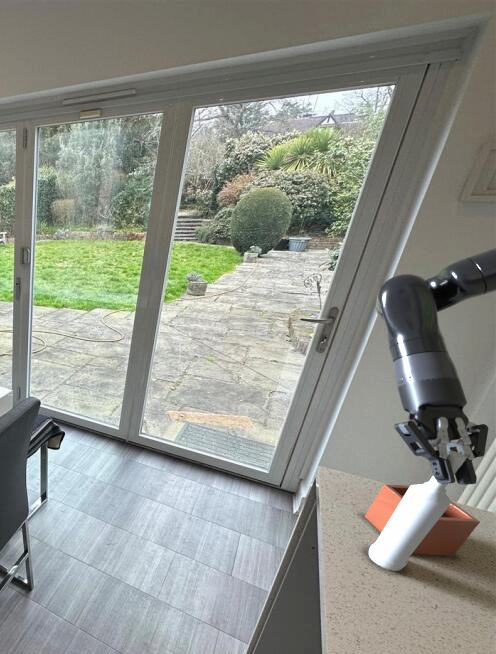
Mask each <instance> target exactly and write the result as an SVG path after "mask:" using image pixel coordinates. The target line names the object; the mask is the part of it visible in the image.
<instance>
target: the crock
mask: <svg viewBox="0 0 496 654" xmlns="http://www.w3.org/2000/svg"><path fill="white" fill-rule="evenodd" d="M410 486H411V485H405V484H403V485H402V484H386V483H385V484H383V486H382V487H381V489H380V490H379V492H378V493H377V495H376V497H375V498H374V500H373V502H372V503H371V505H370V507H368V508H369V509H368V510H367V512H366V513H365V515H364V518H365V519H366V520H367V521H368V522H370V523H371V525H372V526H374V528H376V529H377V530H378V531H379V532H380V534H381V533H382V531H383V530H384V528H385V526H386V525H387V523H388V521H389V520H390V518H391V517H392V515H393V513H394V512H395V510H396V508H397V507H398V505H399V504H400V502H401V500H402V499H403V497H404V495H405V494H406V492H407V490H408V489H409V487H410ZM480 523H481V521H480V520H479V519H477V518H476V517H475V516H472V515H471V514H470V513H469V512H467V511H466V510H464V508H462V507H461V506H460V505H457V504H456V503H455V502H453V501H452V500H451V504H450V505H449V507H448V508H447V509H446V511H445V512H444V513H443V514H442V516H441V517H440V518H439V520H438V521H437V522H436V523H435V525H434V526H433V527H432V528H431V530H430V531H429V532H428V534H427V535H426V536H425V537H424V539H423V540H422V541H421V543H420V544H419V545H418V546H417V548H416V549H415V550H414V551H413V553H412V554H411V555H413V554H414V555H432V556H449V557H450V556H452V557H453V556H455V554H456V553H457V552H458V551H459V549H460V548H461V547H462V546H463V544H465V542H466V541H467V539H468V538H469V537H470V536H471V534H472V533H473V532H474V531H475V529H476V528H477V527H478V525H479V524H480Z"/></svg>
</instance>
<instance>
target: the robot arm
mask: <svg viewBox="0 0 496 654" xmlns="http://www.w3.org/2000/svg"><path fill="white" fill-rule="evenodd" d="M495 292H496V247H494V248H492V249H488V250H486V251H482V252H479V253H477V254H474V255H471V256H468V257H465V258H462V259H460V260H457V261H454V262H452V263H450V264H448V265H447V266H444V268H443V269H441V271H440V272H439V273H437V274H436V275H433V276H432V277H429V278H424V277H422V276H420V275H417V274H412V273H403V274H399V275H395V276H393V277H390V278H388V279H387V280H385V281H384V283H382V284H381V286H380V287H379V288H378V291H377V294H376V300H375V301H376V303H375V311H376V314H377V316H378V317H379V318H380V319H381V320H383V321H384V323H385V326H386V330H387V337H386V338H387V339H386V341H387V347H388V350H389V354H390V358H391V361H392V367H393V368H392V369H393V375H394V376H393V377H394V380H395V384H396V388H397V390H398V395H399V399H400V402H401V405H402V409H403V411H405V412H407V413H408V417H407V420H406V421H403V422H398V423H394V425H393V427H394V429H395V431H396V432H397V434H398V435H399V437H400V438H401V439H402V440H403V442H404V443H405V444H406V445H407V447H408V448H409V449H410V451H411V452H412V454H413V455H414V456H415V457H422V458H425V459H426V460H427V461H428V462H429V465H430V468H431V472H432V476H434V478H435V479H436V480H437V482H438V483H441V484H447V485H448V484H455V483H457V484H458V485H463V486H464V485H466V486H468V485H476V484H477V478H478V477H477V474H476V470H475V468H474V464H473V460H475V459H477V458H483V457H484V456H485V453H486V446H487V440H488V434H489V426H488V425H487V424H485V423H481V424H476V423H474V422H472V421H470V420H469V418H468V416H467V415H466V414H465V412H464V410H463V409H464V407H466V406H467V404H468V400H467V398H466V394H465V392H464V388H463V385H462V382H461V379H460V376H459V373H458V370H457V367H456V364H455V363H454V361H453V359H452V357H451V356H450V353H449V350H448V346H447V343H446V339H445V338H444V335H443V332H442V331H441V327H440V325H439V317H438V313H439V312H441V311H444V310H446V309H449V308H452V307H453V306H455V305H458V304H460V303H461V302H464V301H467V300H470V299H473V298H479V297H482V296H485V295H487V294H492V293H495ZM458 448H459V450H460V452H459V450H458ZM449 451H455V452H459V453H461V454H463V455H465V456H466V457H467V458H466V460H465V461H464V462H463V464H462V465H461V467H460V468H459V469H458V470H457V471H456V473H455V474H453V470H452V467H451V464H450V460H446V458H447V457H448V455H447V454H448V452H449Z"/></svg>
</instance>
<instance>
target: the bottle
mask: <svg viewBox="0 0 496 654" xmlns="http://www.w3.org/2000/svg"><path fill="white" fill-rule="evenodd" d="M447 455H448V457H447V458H446V460H450V464H451V467H452V470H453V474H454V475H455V473H456V471H457V470H458V469H459V468H460V467H461V465H462V464H463V462H464V461H465V460H466V458H467V457H466V456H465V455H463V454H461V453H460V452H459V451H458V452H455V451H449V452H448V451H447ZM409 486H410V487H409V489H408V490H407V492H406V494H405V495H404V497H403V499H402V500H401V502H400V504H399V505H398V507H397V508H396V510H395V512H394V513H393V515H392V517H391V518H390V520H389V521H388V523H387V525H386V526H385V528H384V530H383V531H382V533H381V532H380V534H379V536H378V538H377V539H376V541H375V542H374V543H373V544H371V545H370V547H369V548H368V556H369V558H370V559H371V560H372V562H374V563H375V564H376V565H378V566H379V567H381V568H383V569H386V570H389V571H392V572H399V571H401V570H403V568H405V567H406V566H407V564H408V560H409V558H410V557H411V556H412V555H413V554H412V553H413V551H414V550H415V549H416V548H417V546H418V545H419V544H420V543H421V541H422V540H423V539H424V537H425V536H426V535H427V534H428V532H429V531H430V530H431V528H432V527H433V526H434V525H435V523H436V522H437V521H438V520H439V518H440V517H441V516H442V514H443V513H444V512H445V511H446V509H447V508H448V507H449V505H450V504H451V501H452V500H451V499H450V497H449V496H448V495H447V489H446V487H447V486H448V484H441V483H438V482H437V480H436V479H435V478H434V476H433V475H432V476H431V478H430V480H429V481H425V482H424V483H417V484H411V485H409Z"/></svg>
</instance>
